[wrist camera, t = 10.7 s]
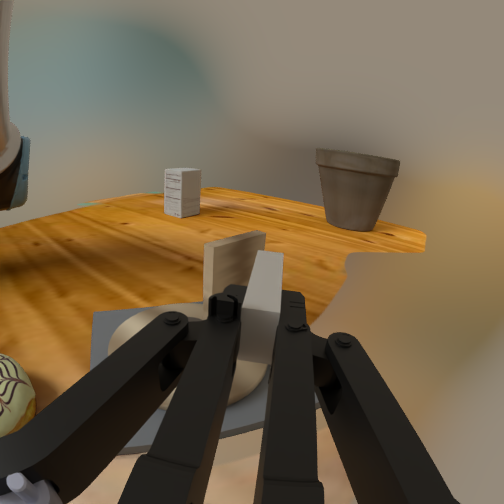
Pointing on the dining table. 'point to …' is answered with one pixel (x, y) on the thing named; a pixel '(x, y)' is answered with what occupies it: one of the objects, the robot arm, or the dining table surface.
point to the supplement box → (182, 192)
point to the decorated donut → (14, 396)
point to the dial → (214, 281)
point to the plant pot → (354, 187)
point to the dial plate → (235, 420)
